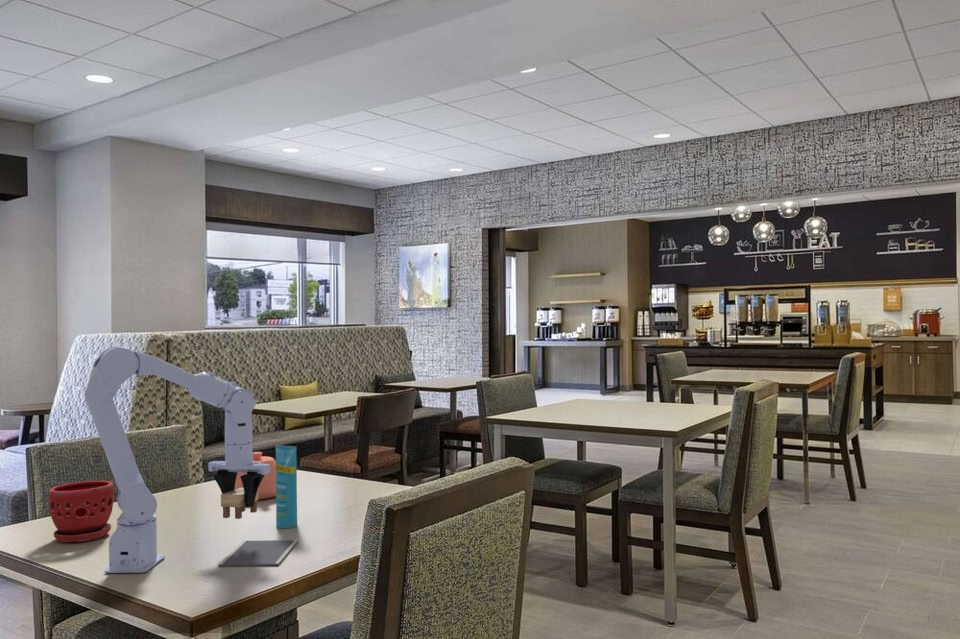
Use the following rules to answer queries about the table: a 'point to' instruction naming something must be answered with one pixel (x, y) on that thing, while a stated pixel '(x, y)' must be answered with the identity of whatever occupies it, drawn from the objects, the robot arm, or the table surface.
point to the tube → (286, 487)
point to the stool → (236, 503)
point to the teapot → (268, 481)
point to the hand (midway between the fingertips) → (239, 505)
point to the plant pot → (81, 510)
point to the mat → (259, 553)
